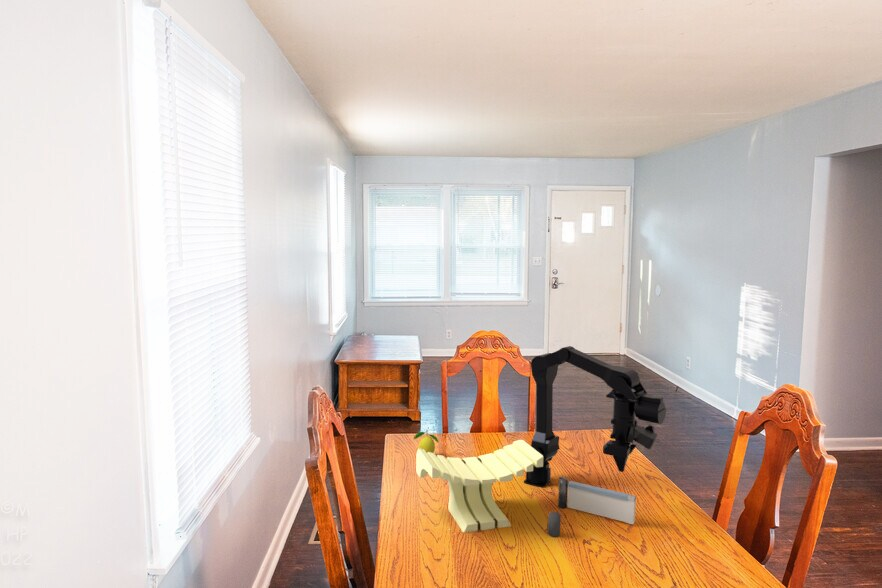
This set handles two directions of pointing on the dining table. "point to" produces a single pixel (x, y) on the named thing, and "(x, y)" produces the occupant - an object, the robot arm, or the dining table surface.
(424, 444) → the lemon
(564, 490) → the gate post
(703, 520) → the dining table surface
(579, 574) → the dining table surface
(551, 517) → the gate stop
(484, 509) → the slatted curved stool
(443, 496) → the dining table surface
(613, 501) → the gate
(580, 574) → the dining table surface
